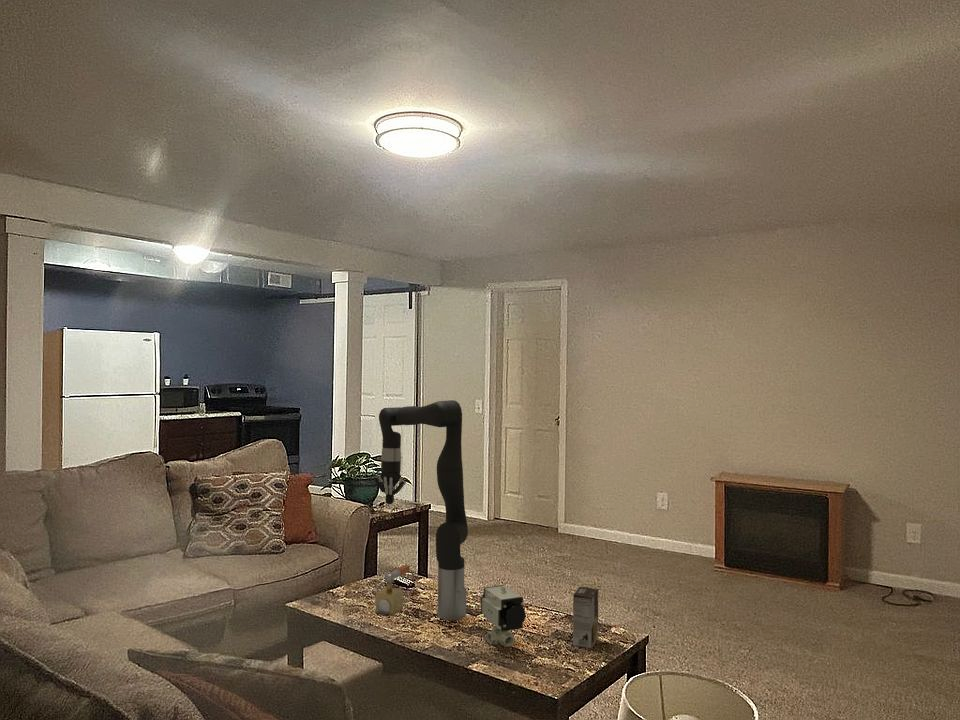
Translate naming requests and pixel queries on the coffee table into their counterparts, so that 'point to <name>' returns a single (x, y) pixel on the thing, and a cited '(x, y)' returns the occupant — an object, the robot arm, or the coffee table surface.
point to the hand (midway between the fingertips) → (389, 503)
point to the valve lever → (397, 573)
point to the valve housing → (389, 600)
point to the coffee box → (585, 617)
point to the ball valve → (502, 613)
